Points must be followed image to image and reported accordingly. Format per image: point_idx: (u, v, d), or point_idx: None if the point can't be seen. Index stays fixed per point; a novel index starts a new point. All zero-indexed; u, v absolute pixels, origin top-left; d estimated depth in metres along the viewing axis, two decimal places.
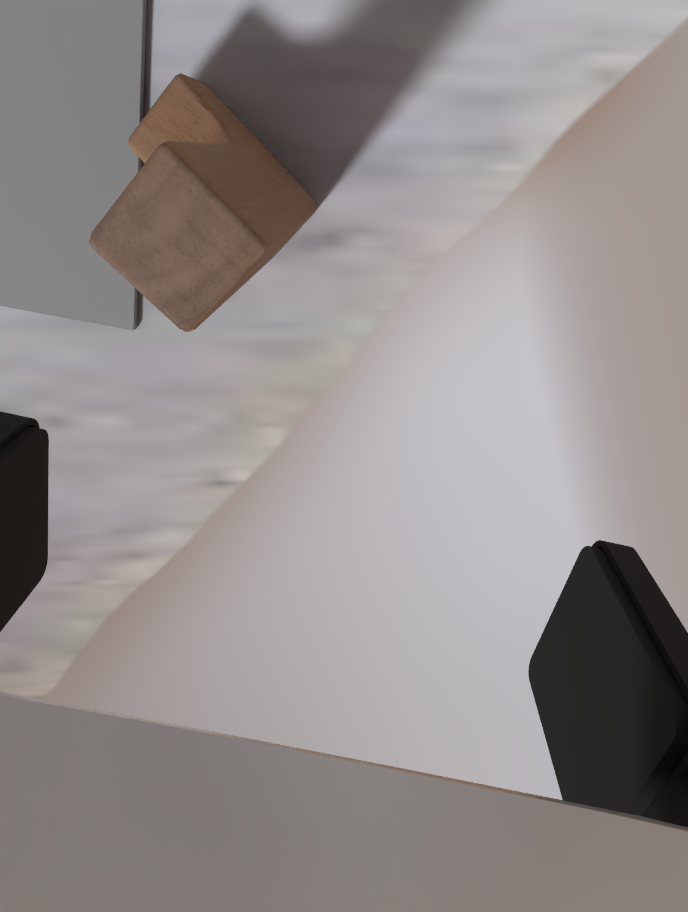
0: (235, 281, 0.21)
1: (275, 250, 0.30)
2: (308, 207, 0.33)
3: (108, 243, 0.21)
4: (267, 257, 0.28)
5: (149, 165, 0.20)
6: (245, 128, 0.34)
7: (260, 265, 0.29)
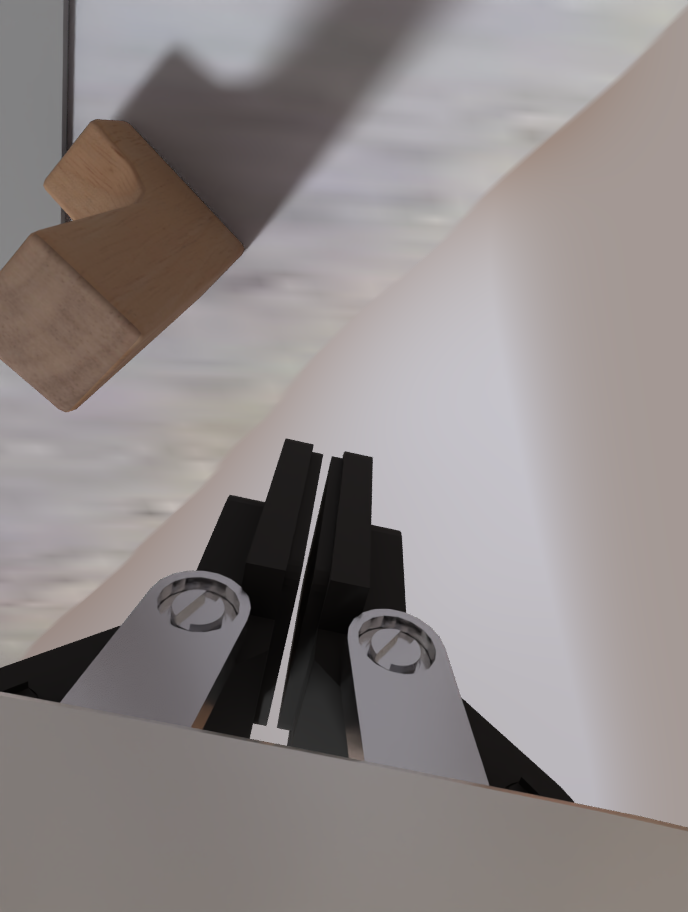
0: (113, 366, 0.21)
1: (187, 305, 0.30)
2: (227, 258, 0.32)
3: None
4: None
5: (19, 254, 0.20)
6: (169, 171, 0.34)
7: (167, 324, 0.29)
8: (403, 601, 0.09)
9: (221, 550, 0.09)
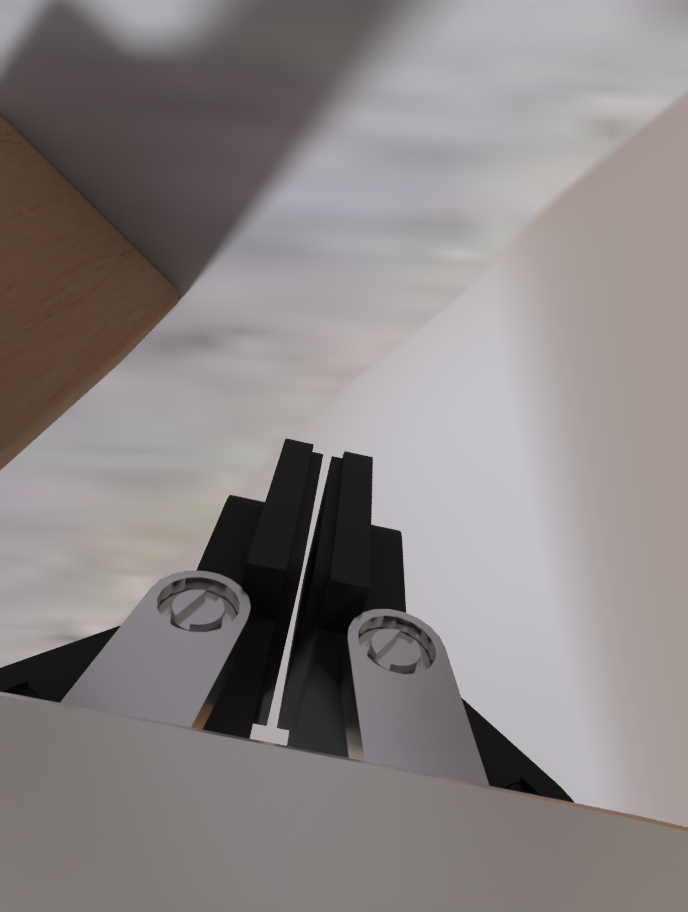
0: None
1: (66, 404, 0.19)
2: (141, 319, 0.21)
3: None
4: (28, 438, 0.16)
5: None
6: (58, 182, 0.22)
7: (23, 444, 0.17)
8: (403, 601, 0.09)
9: (221, 550, 0.09)
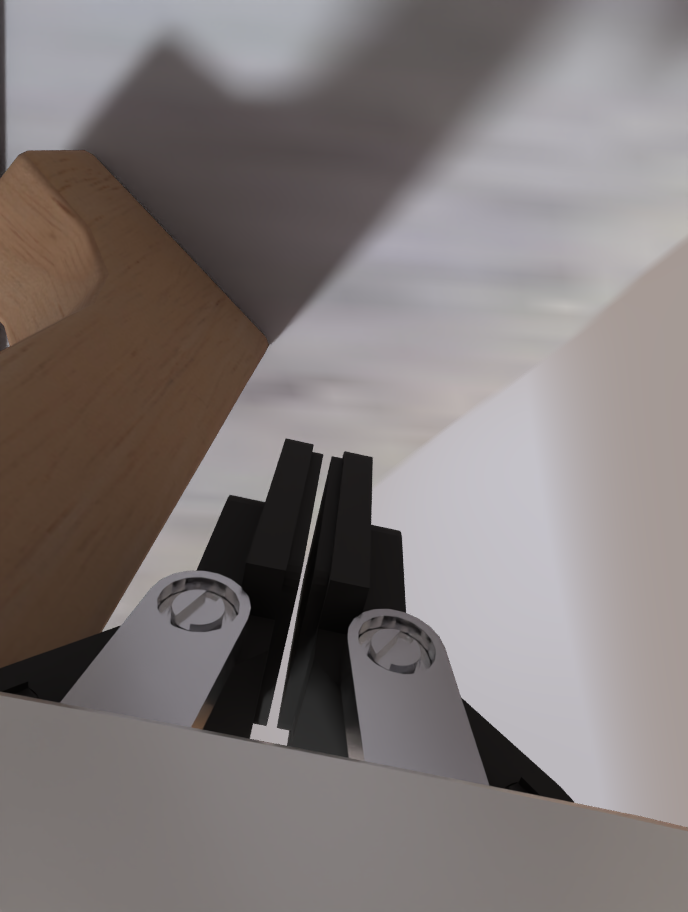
0: None
1: None
2: (244, 375, 0.20)
3: None
4: None
5: None
6: (154, 229, 0.21)
7: None
8: (403, 601, 0.09)
9: (221, 550, 0.09)
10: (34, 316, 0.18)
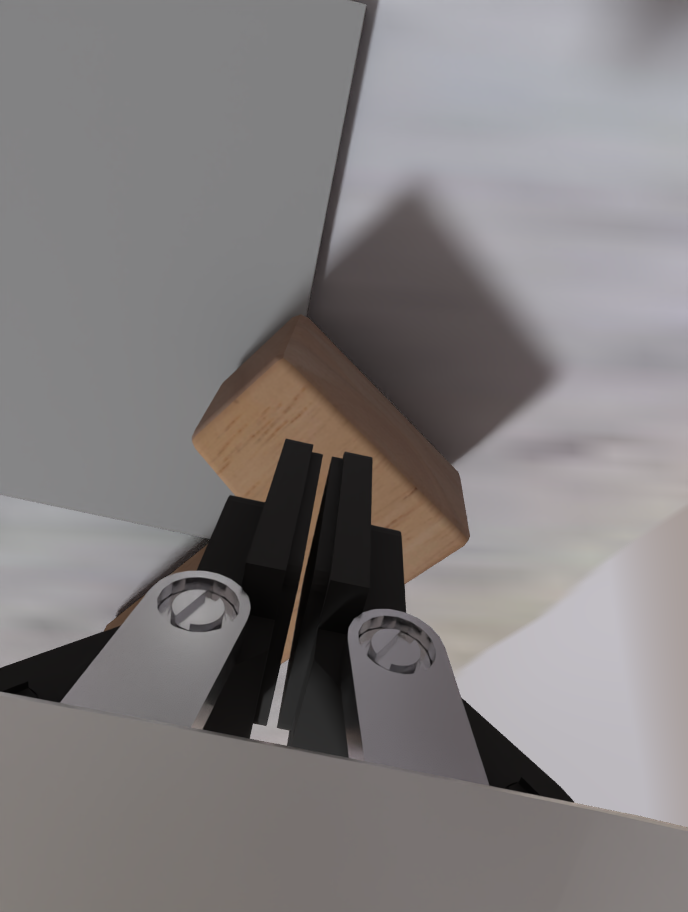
0: None
1: None
2: None
3: None
4: None
5: None
6: (335, 454, 0.20)
7: None
8: (403, 601, 0.09)
9: (221, 550, 0.09)
10: None
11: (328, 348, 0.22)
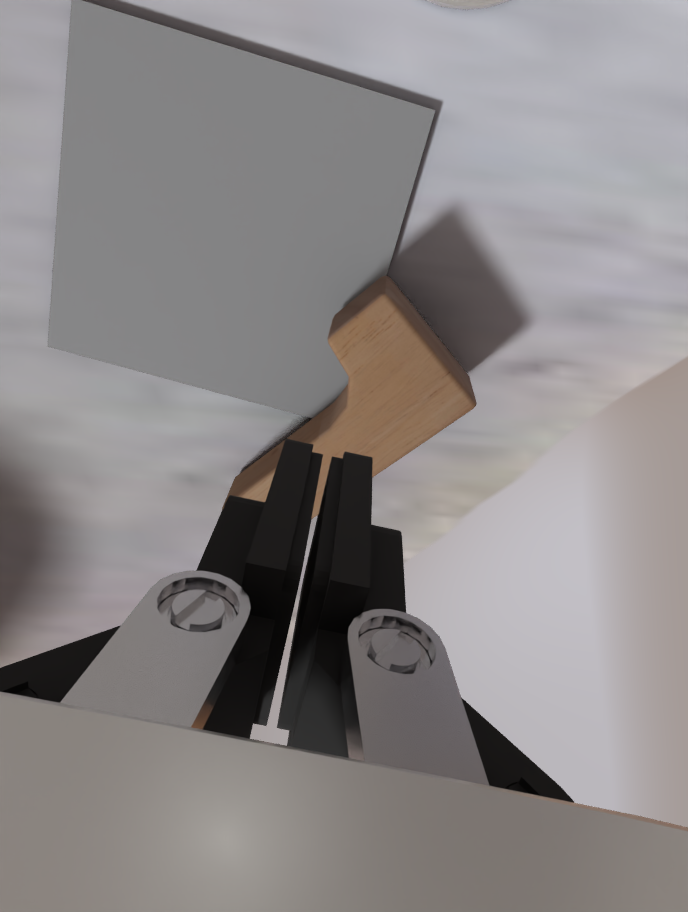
0: None
1: None
2: (415, 445, 0.39)
3: None
4: None
5: (224, 504, 0.44)
6: (407, 349, 0.36)
7: None
8: (403, 601, 0.09)
9: (221, 550, 0.09)
10: None
11: (401, 295, 0.38)
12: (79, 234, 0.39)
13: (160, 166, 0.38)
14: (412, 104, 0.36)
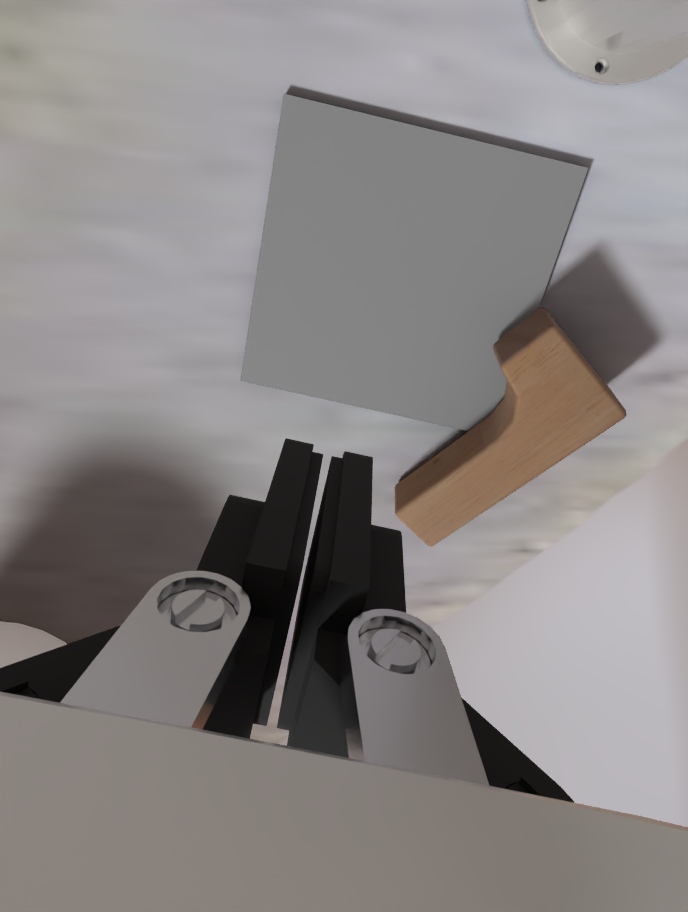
0: None
1: None
2: (571, 451, 0.46)
3: None
4: None
5: (395, 509, 0.51)
6: (570, 371, 0.43)
7: None
8: (403, 601, 0.09)
9: (221, 550, 0.09)
10: (508, 392, 0.47)
11: (557, 324, 0.45)
12: (275, 285, 0.46)
13: (349, 226, 0.44)
14: (568, 164, 0.42)
